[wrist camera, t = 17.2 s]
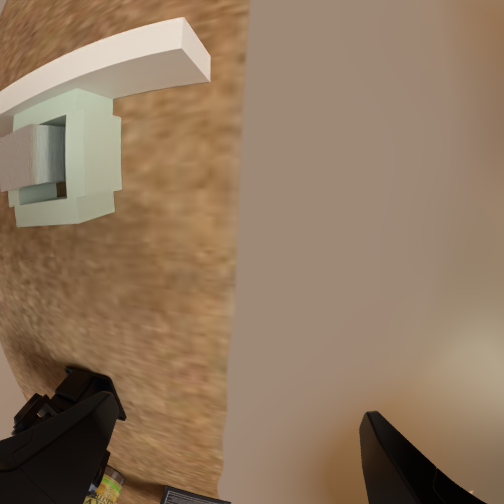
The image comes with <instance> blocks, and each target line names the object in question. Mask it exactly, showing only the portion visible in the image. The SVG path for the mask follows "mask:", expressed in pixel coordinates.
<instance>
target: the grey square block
mask: <svg viewBox="0 0 504 504" xmlns="http://www.w3.org/2000/svg"><path fill="white" fill-rule="evenodd" d="M65 134H66V127H58V126H48V125H37V124H29V125H27V126H25V127H22V128H20V129H18V130H16V131H14V132H12V133H10V134H8V135H6V136H4V137H2V138H0V189H1V192H6V191H11V190H16V189H22V188H28V187H34V186H40V185H47V184H54V183H61V182H66V166H65Z"/></svg>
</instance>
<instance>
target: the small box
mask: <svg viewBox="0 0 504 504" xmlns="http://www.w3.org/2000/svg"><path fill="white" fill-rule="evenodd" d="M160 504H231V502H227V501H223V500H218V499H213V498H209V497H204V496H201V495H197V494H193V493H189V492H186V491H182V490H179V489H176V488H173V487H170V486H165V488H164V493H163V496H162V499H161V502H160Z"/></svg>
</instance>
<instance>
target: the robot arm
mask: <svg viewBox="0 0 504 504" xmlns="http://www.w3.org/2000/svg"><path fill="white" fill-rule="evenodd" d="M65 372H66V374H67V377H66V379H65V380H64V381H63V382H62V383H61V384H60V385H59V386H58V387H57V389H56V390H55V393H56V394H55V395H54V396H53V397H52V398H51V399H49V397H48V396H47V395H46V394H45V395H44V396H43V397H42V396H41V395H39V394H37V393H35V394H34V395H33V396H32V398H31V399H30V400H29V401H28V402H27V403H26V404H25V406H23V408H22V409H21V410H20V411H19V412H18V413H17V414H16V416H15V417H14V423H15V425H14V427H13V428H14V430H13V431H12V433H11V434H12V435H13V436H12V437H9V438H7V439H3V440H1V441H0V504H83V503H84V501H85V498H86V496H89V495H91V494H93V493H94V492H95V491H96V490H97V488H98V487H99V485H100V483H101V481H102V479H103V476H104V472H105V469H106V466H107V463H108V460H109V456H110V452H109V451H107V450H106V449H107V447H108V444H109V442H110V439H111V435H112V432H113V429H114V426H115V423H116V420H117V419H118V420H122V421H125V419H126V418H127V417H126V415H125V412H124V410H123V408H122V405H121V403H120V400H119V398H118V396H117V393H116V390H115V388H114V385H113V383H112V380H111V379H110V378H108V377H105V376H101V375H97V374H93V373H90V372H86V371H83V370H79V369H76V368H72V367H69V366H67V367H66V368H65ZM37 413H38V414H39V415H40V416H41V417H39V416H38V415H37ZM359 430H360V431H359V433H360V445H361V457H362V469H363V475H364V479H365V484H366V490H367V496H368V501H369V504H487V503H485V502H483V501H481V500H480V499H478V498H477V497H475V496H474V495H472V494H470V493H469V492H467V491H466V490H464V489H463V488H462V487H460V486H459V485H457V484H456V483H455V482H453V481H452V480H451V479H449V478H448V477H447V476H446V475H445V474H444V473H443V472H441V471H440V470H439V469H438V468H437V469H436V466H435V465H434V464H433V463H432V462H430V461H429V460H428V459H427V458H426V457H425V456H424V455H423V454H422V453H421V452H420V451H419V450H418V449H417V448H416V447H415V446H413V445H412V444H411V443H410V442H409V441H408V440H407V439H406V438H405V437H404V436H403V435H402V434H401V433H400V432H399V431H398V430H397V429H395V428H394V427H393V426H392V425H391V424H390V423H389V422H388V421H387V420H386V419H385V418H384V417H383V416H382V415H381V414H380V413H379V412H378V411H369V412H366V413H365V414H364V417H363V419H362V422H361V425H360V429H359Z"/></svg>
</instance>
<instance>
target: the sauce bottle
mask: <svg viewBox="0 0 504 504" xmlns="http://www.w3.org/2000/svg"><path fill="white" fill-rule="evenodd" d="M124 482H125V480H124V479H123V477H122V476H121V475H120V474H119V473H118V472H117V471H115V470H114V469H112V468H111V467H109V466H106V469H105V472H104V476H103V479H102V481H101V483H100V485H99V487H98V488H97V490H96V491H95V492H94V493H93V494H91V495H89V496H86V498H85V501H84V503H83V504H115V502H116V500H117V498H118V496H119V494H120V492H121V490H122V486H123V484H124Z"/></svg>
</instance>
